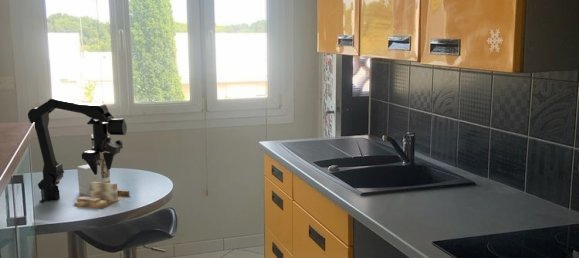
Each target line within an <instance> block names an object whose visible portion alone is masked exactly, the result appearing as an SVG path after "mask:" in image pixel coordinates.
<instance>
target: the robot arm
mask: <svg viewBox="0 0 579 258" xmlns="http://www.w3.org/2000/svg"><path fill="white" fill-rule="evenodd" d="M56 109H57V110H63V111H66V112H67V111H68V112H73V113H78V114H82V115H84V116H86V117H89V118H90V119H89V121H87V122H86V124H87V125H92V134H93V137H92V138H91V137H90V141H92V140H93V142H94V147H92V146H91V150H86V151H83V152H82V153H81V160H83V161H85V162H86V163H87V164H88V165H89V166H90V168H91V170H92V171H93V173H94V175H97V168H98V161H99V160H100V159H99V157H100V154H103V155H104V159H105V163H106V166H107V169H110V170H111V167H112V164H113V162H114V157H115V156H116V155H117V154H119V153H120V152H121V150H122V149H123V141H122V139H121V140H120V139H118V140H116V141H112V138H111V136H126V134H127V131H128V127H127V122H126V121H125V120H126V119H125V118H124V117H123V118H122V117H121V118H114V116H113V115H112V114H111V112H110V111H109V108H108V107H107V105H106V104H105V103H94V102H93V103H83V102H80V101H73V100H68V99H65V98H64V99H63V98H60V97H57V96H56V97H52V98H49V99H48V100H47V101H46V102H45V103H42V104H41V105H39V106H36V107H33V108H31V109H30V110H28V112H27V119H28V120H29V123H30V124H31V123H33V122H35V129H34V130H35V132H36V136H37V141H38V144H39V148H40V149H39V150H40V153H41V157H42V162H43V166H42V167H43V168H42V179H41V180H40V181H39V182H38V183H37V186H38V189H39V190H40V193H41V195H40V197H41V199H40V200H38V202H39V203H45V202H54V201H58V200H60V197H61V196H60V189H59V186H58V185H59V184H60V181H61V180H62V179H63V177H64V173H65V171H64V168H63V163H58V161H57V160H56V155H55V152H54V148H53V143H52V139H51V135H50V131H49V123H50V114H51V113H52V112H54V111H55V110H56ZM108 134H109V135H111V136H109V135H108ZM92 150H95V151H92Z"/></svg>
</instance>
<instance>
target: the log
mask: <svg viewBox="0 0 579 258" xmlns="http://www.w3.org/2000/svg"><path fill="white" fill-rule="evenodd" d="M92 137H93V133H92V134H91V136H90V139H91V138H92ZM92 147H94V142H93V140H91V148H92ZM91 151H95V150H92V149H91ZM99 159H100V160H99V161H98V165H99V166H101V178H102V182H105V183H111V176H110V175H111V172H110V170H111V168H110V169H107V166H106V163H105V159H104V155H103V154H100V157H99Z"/></svg>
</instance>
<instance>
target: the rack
mask: <svg viewBox="0 0 579 258" xmlns="http://www.w3.org/2000/svg"><path fill="white" fill-rule="evenodd" d="M117 191H118V200H117V201H111V200H105V201H107V204H108V206H106V207H104V208H97V209H99V210H100V209H101V210H104V209H105V208H107V207H109V206H111V205H113V204H115V203H117V202H119V201H121V200H123V199H125V198H127V197H129V196H130V190H128V189H127V190H125V189H124V190H123V189H117ZM72 206H73V207H75V206H74V204H73V205H72ZM77 207H79V208H80V207H81V208H85V207H84V206H77ZM87 208H88V209H89V208H90V209H91V208H92V209H94V208H93V207H87Z"/></svg>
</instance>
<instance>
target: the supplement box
mask: <svg viewBox="0 0 579 258" xmlns="http://www.w3.org/2000/svg"><path fill="white" fill-rule="evenodd" d="M76 168H77V181H78V193H79V194H81V195H82V196H86V197H90V196H91V194H90V182H92V181H94V182H102V178H101V166H99V165H98V168H97V175H94V173H93V171H92V170H91V168H90V166H89V165H88V163H87V164H82V165H78V166H77V167H76Z"/></svg>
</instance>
